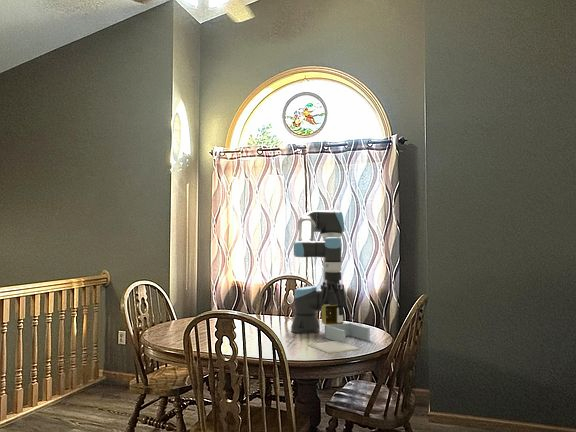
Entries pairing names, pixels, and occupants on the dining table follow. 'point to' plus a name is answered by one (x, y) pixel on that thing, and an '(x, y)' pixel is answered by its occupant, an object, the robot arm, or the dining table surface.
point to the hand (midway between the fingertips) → (333, 320)
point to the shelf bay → (346, 332)
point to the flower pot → (326, 312)
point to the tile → (333, 347)
